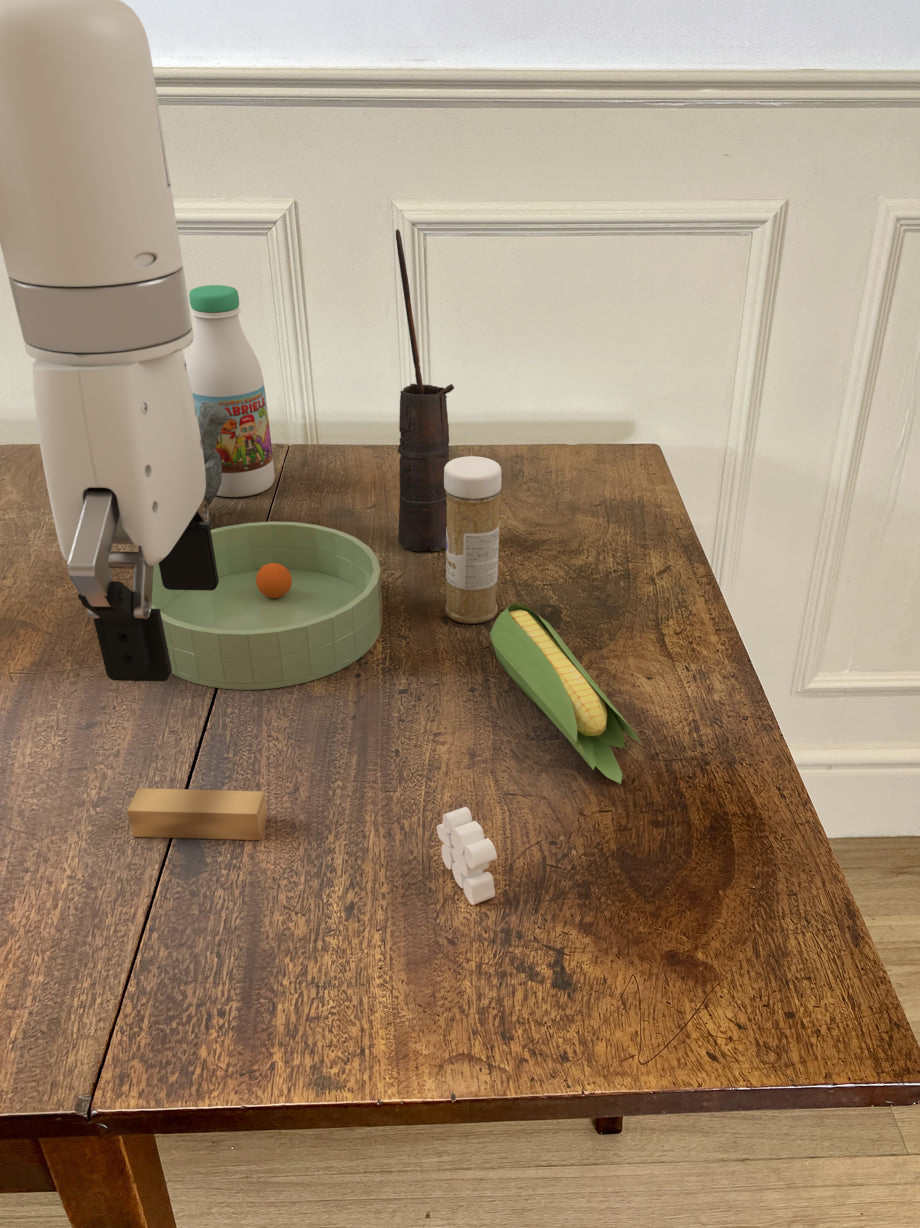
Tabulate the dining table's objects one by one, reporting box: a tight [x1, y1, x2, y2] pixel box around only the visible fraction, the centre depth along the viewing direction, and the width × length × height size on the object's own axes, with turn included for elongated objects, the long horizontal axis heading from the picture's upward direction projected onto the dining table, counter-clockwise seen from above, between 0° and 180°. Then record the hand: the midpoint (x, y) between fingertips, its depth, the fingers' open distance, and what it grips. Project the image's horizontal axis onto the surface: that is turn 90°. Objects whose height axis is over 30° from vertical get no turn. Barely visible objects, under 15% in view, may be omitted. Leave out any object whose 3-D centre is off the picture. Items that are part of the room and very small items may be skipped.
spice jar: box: [444, 455, 502, 625], centre depth 85 cm, size 5×5×13 cm
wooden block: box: [126, 787, 268, 841], centre depth 65 cm, size 8×2×2 cm, turn 89°
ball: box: [256, 563, 292, 598], centre depth 89 cm, size 3×3×3 cm
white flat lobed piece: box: [436, 806, 498, 906], centre depth 61 cm, size 5×1×4 cm, turn 29°
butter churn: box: [395, 228, 455, 552], centre depth 93 cm, size 9×10×28 cm
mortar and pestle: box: [198, 401, 230, 525], centre depth 99 cm, size 11×9×12 cm
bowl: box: [151, 521, 384, 691], centre depth 85 cm, size 19×19×5 cm
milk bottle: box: [186, 284, 276, 498], centre depth 105 cm, size 8×8×20 cm
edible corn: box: [489, 602, 642, 785], centre depth 76 cm, size 5×20×5 cm, turn 23°
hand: (168, 629), depth 58 cm, fingers open, 9 cm apart
